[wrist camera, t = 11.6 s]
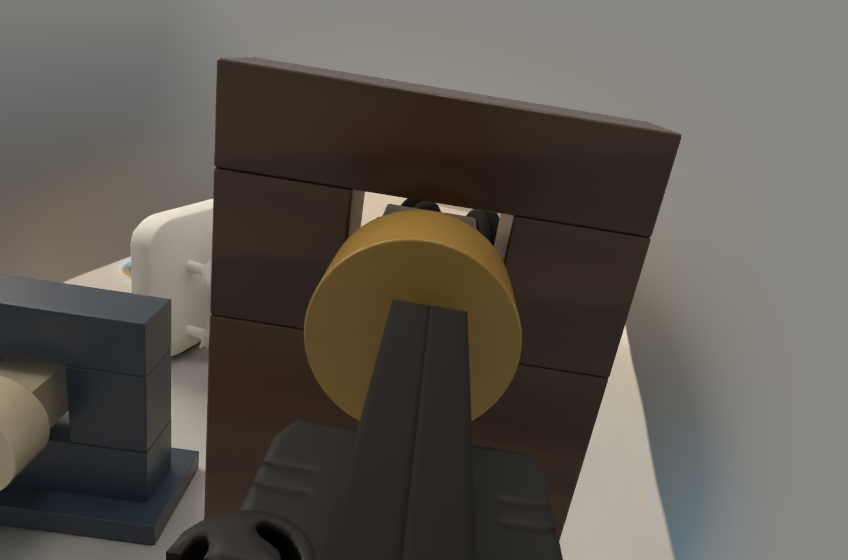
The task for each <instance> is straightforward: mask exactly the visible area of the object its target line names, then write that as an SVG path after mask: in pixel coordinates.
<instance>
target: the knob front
mask: <svg viewBox="0 0 848 560" xmlns="http://www.w3.org/2000/svg"><path fill="white" fill-rule="evenodd" d="M392 299H395V300H401V301H407V302H413V303H419V304H425V305H431V306H437V307H444V308H450V309H456V310H462V311H467V314H468V341H469V368H470V395H471V421H472V420H474V419H476V418H477V417H479V416H480V415H482V414H483V413H485V412H486V411H487V410H488V409H489V408H490V407H492V406H493V405H494V404H495V403H496V402H497V400H498V399H499V398H500V397H501V396H502V395H503V393H504V392H505V390H506V389H507V387H508V386H509V384H510V383H511V381H512V379H513V377H514V374H515V372H516V370H517V366H518V363H519V360H520V354H521V348H522V331H521V323H520V318H519V314H518V310H517V306H516V302H515V298H514V294H513V290H512V286H511V282H510V279H509V275H508V272H507V269H506V267H505V265H504V262H503V260H502V258H501V257H500V255H499V254H498V252H497V250H496V249H495V248H494V247H493V245H492V244H491V243H490V242H489V240H488V239H486V238H485V237H484V236H483V235H482V234H481V233H480V232H479V231H477V228H476V220H475V218H473V217H467V216H461V215H455V214H449V213H442V212H436V211H430V210H424V209H418V208H412V207H405V206H399V205H393V204H388V205H387V207H386V209H385V212H384V214H383V216H381V217H379V218H377V219H374V220H372V221H370V222H369V223H367V224H365V225H364V226H362V227H361V228H359V229H358V230H357V231H356V232H354V233H353V234H352V235H351V236H350V237H349V238H348V239H347V240H346V241H345V242H344V244H343V245H342V246H341V248H340V249H339V251H338V252H337V253H336V255H335V257H334V259H333V260H332V262H331V264H330V265H329V267H328V269H327V271H326V272H325V274H324V276H323V277H322V279H321V281H320V283H319V284H318V286H317V288H316V290H315V292H314V294H313V296H312V298H311V300H310V303H309V306H308V309H307V312H306V318H305V324H304V342H305V350H306V354H307V358H308V362H309V364H310V367H311V369H312V372H313V374H314V376H315V378H316V379H317V381H318V383H319V385H320V386H321V388H322V389H323V390H324V392H325V393H326V394H327V395H328V397H329V398H330V399H331V400H332V401H333V402H334V403H335V404H336V405H337V406H338V407H340V408H341V409H342V410H343V411H345V412H346V413H347V414H349V415H350V416H352V417H354V418H355V419H357V420H359V421H360V418H361V414H362V411H363V407H364V403H365V399H366V396H367V392H368V388H369V384H370V381H371V377H372V373H373V370H374V366H375V362H376V358H377V355H378V351H379V347H380V344H381V340H382V336H383V332H384V329H385V325H386V321H387V317H388V314H389V310H390V306H391V303H392Z"/></svg>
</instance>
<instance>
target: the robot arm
mask: <svg viewBox="0 0 848 560" xmlns="http://www.w3.org/2000/svg"><path fill="white" fill-rule="evenodd" d="M166 560H563V559H562V554H561V549H560V544H559V539H558V534H556V525H555V520H554V515H553V510H551V501H550V496H549V491H548V486H547V481H546V478H545V476H544V475H543V473H542V472H541V471H540V469H539V468H538V467H537V465H536V464H535V463H534V461H533V460H532V458H531V457H530V456H529V454H528V453H524V452H517V451H511V450H505V449H499V448H493V447H487V446H480V445H474V444H472V422H471V395H470V368H469V341H468V314H467V311H462V310H456V309H450V308H444V307H437V306H431V305H425V304H419V303H413V302H407V301H401V300H395V299H392V303H391V306H390V310H389V314H388V317H387V321H386V325H385V329H384V332H383V336H382V340H381V344H380V347H379V351H378V355H377V358H376V362H375V366H374V370H373V373H372V377H371V381H370V384H369V388H368V392H367V396H366V399H365V403H364V407H363V411H362V414H361V418H360V422H359V425H358V428H355V427H349V426H343V425H337V424H331V423H325V422H319V421H312V420H306V419H300V418H298V419H296V420H295V421H294V422H293V423H291V424H290V425H289V426H287V427H286V428H285V429H284V430H282V431H281V432H280V433H279V434H277V435H276V436H275V437H274V439H273V441H272V443H271V445H270V448H269V450H268V452H267V454H266V456H265V458H264V460H263V464H262V466H260V468H259V470H258V473H257V475H256V477H255V479H254V481H253V485H252V487H250V489H249V491H248V493H247V495H246V498H245V500H244V502H243V504H242V506H241V508H240V510H234V511H230V512H226V513H222V514H218V515H214V516H211V517H208V518H206V519H204V520H203V521H201V522H199V523H198V524H196V525H194V526H193V527H191V528H189V529H187V530H186V531H184V532H183V533H182V534H181V536H180V537H179V538H178V539H177V540H176V541H175V542H174V544H173V545H172V546H171V547H170V548H169V549H168V551H167V552H166Z"/></svg>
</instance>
